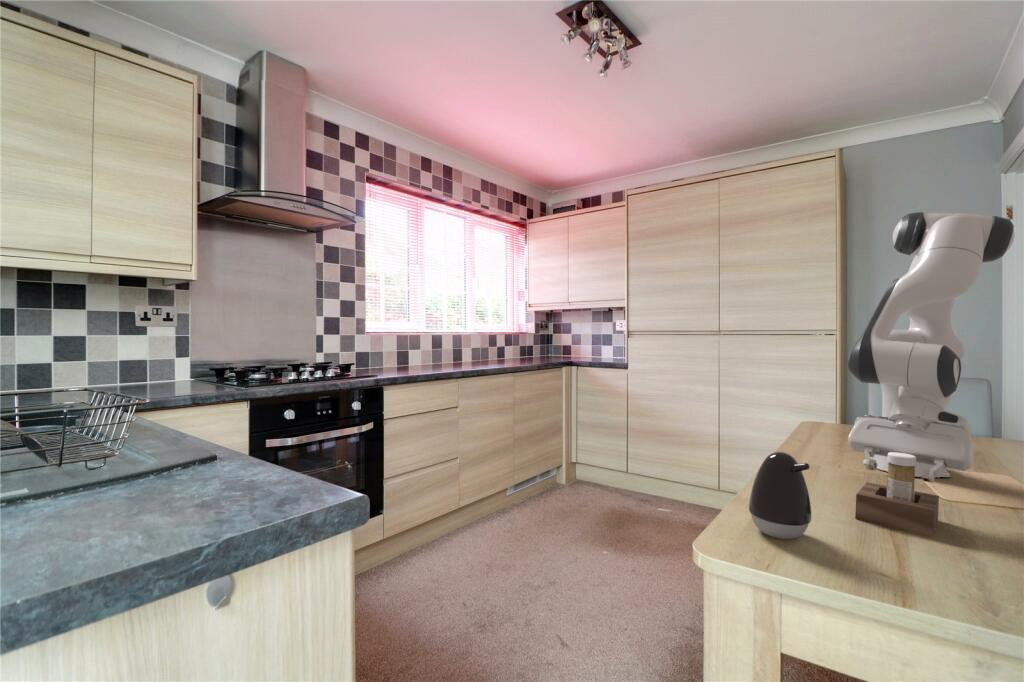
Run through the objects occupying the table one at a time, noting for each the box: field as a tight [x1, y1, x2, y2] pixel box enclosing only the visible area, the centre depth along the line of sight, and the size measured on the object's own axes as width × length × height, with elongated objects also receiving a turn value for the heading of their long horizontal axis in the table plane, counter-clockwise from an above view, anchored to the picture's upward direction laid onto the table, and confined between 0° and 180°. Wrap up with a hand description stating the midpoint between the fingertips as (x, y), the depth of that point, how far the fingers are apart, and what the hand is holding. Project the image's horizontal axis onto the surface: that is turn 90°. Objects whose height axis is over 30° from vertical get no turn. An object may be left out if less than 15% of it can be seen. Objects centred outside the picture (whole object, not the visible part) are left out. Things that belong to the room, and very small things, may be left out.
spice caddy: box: [854, 481, 940, 538], centre depth 100 cm, size 12×12×5 cm
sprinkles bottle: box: [886, 452, 916, 503], centre depth 100 cm, size 5×5×14 cm
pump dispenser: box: [748, 451, 812, 540], centre depth 91 cm, size 10×10×15 cm
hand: (897, 474), depth 100 cm, fingers open, 8 cm apart
